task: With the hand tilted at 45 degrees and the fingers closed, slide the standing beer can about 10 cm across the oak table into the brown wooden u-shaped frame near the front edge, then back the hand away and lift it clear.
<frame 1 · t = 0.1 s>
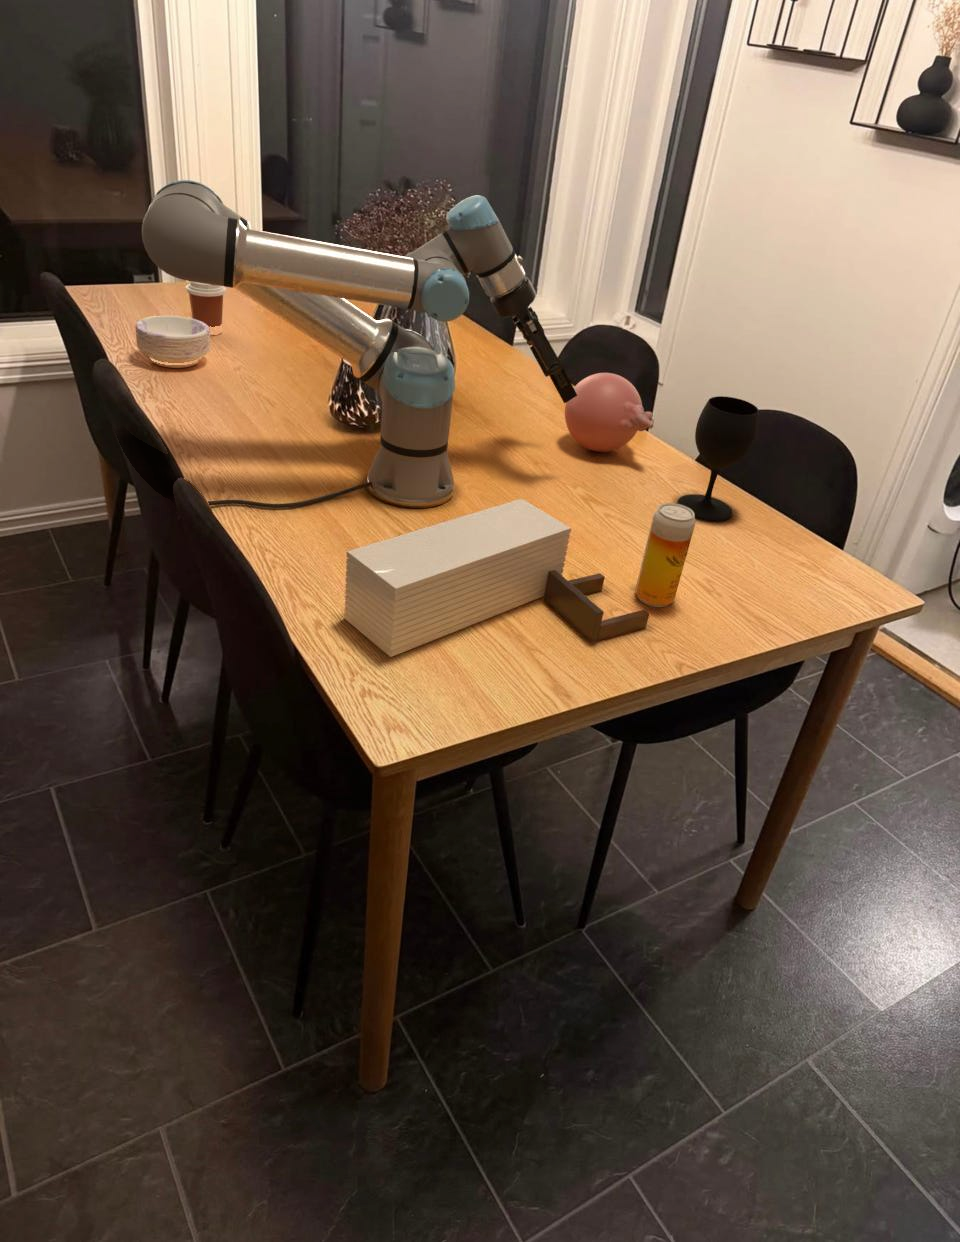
hand: (560, 385, 172), 15 cm above the table, tool tilted 35°, fingers open, 13 cm apart
stack of papers: (456, 604, 134), on the table
paper bowls: (175, 362, 202), on the table
beer can: (653, 599, 142), on the table
wine glass: (704, 509, 170), on the table
balloon: (604, 453, 187), on the table
brown wooden u-shaped frame: (597, 612, 136), on the table
coffee cup: (208, 332, 221), on the table
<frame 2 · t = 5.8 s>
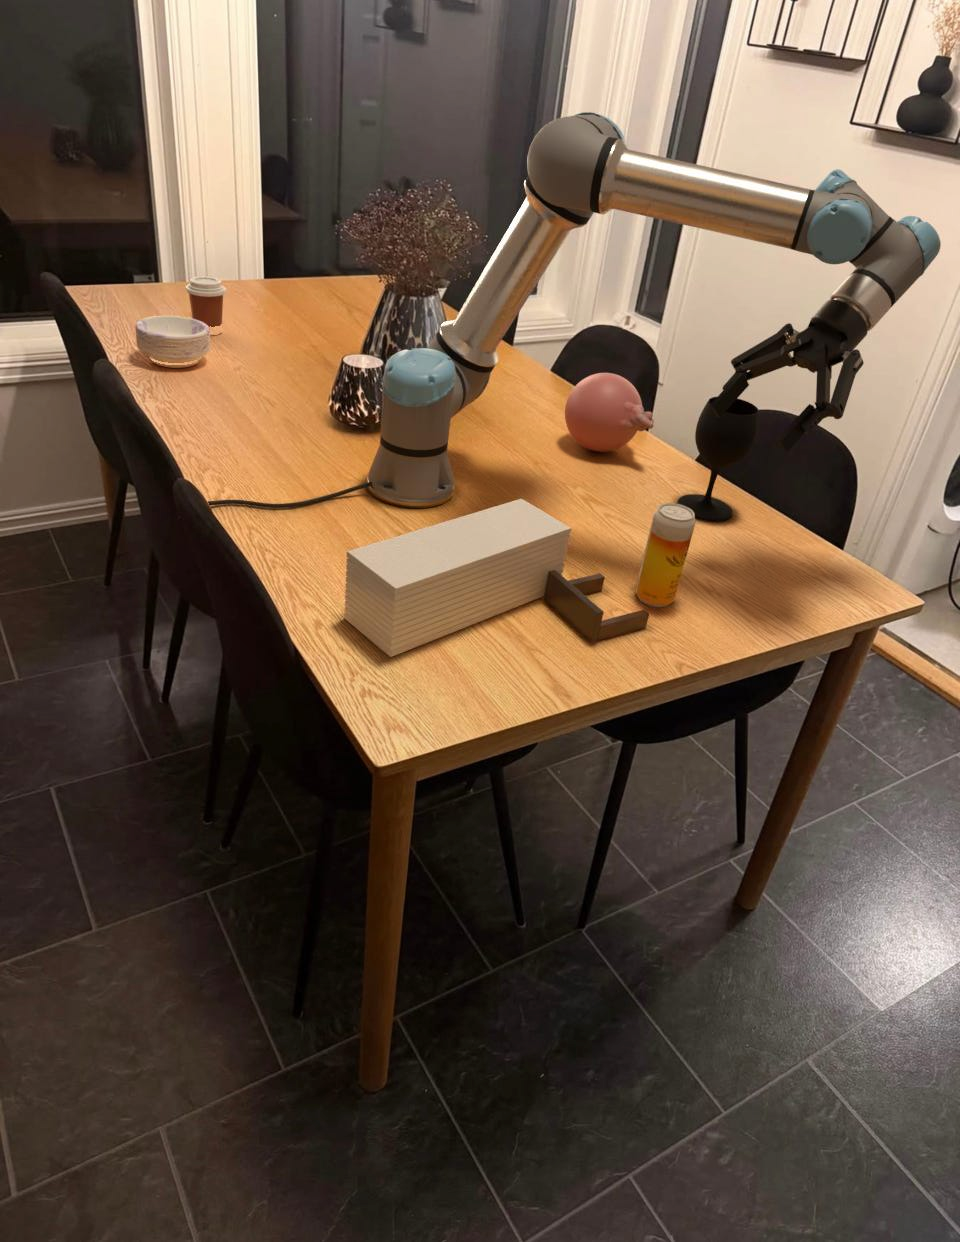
hand: (747, 428, 133), 26 cm above the table, tool tilted 45°, fingers open, 13 cm apart
nothing on the table moved.
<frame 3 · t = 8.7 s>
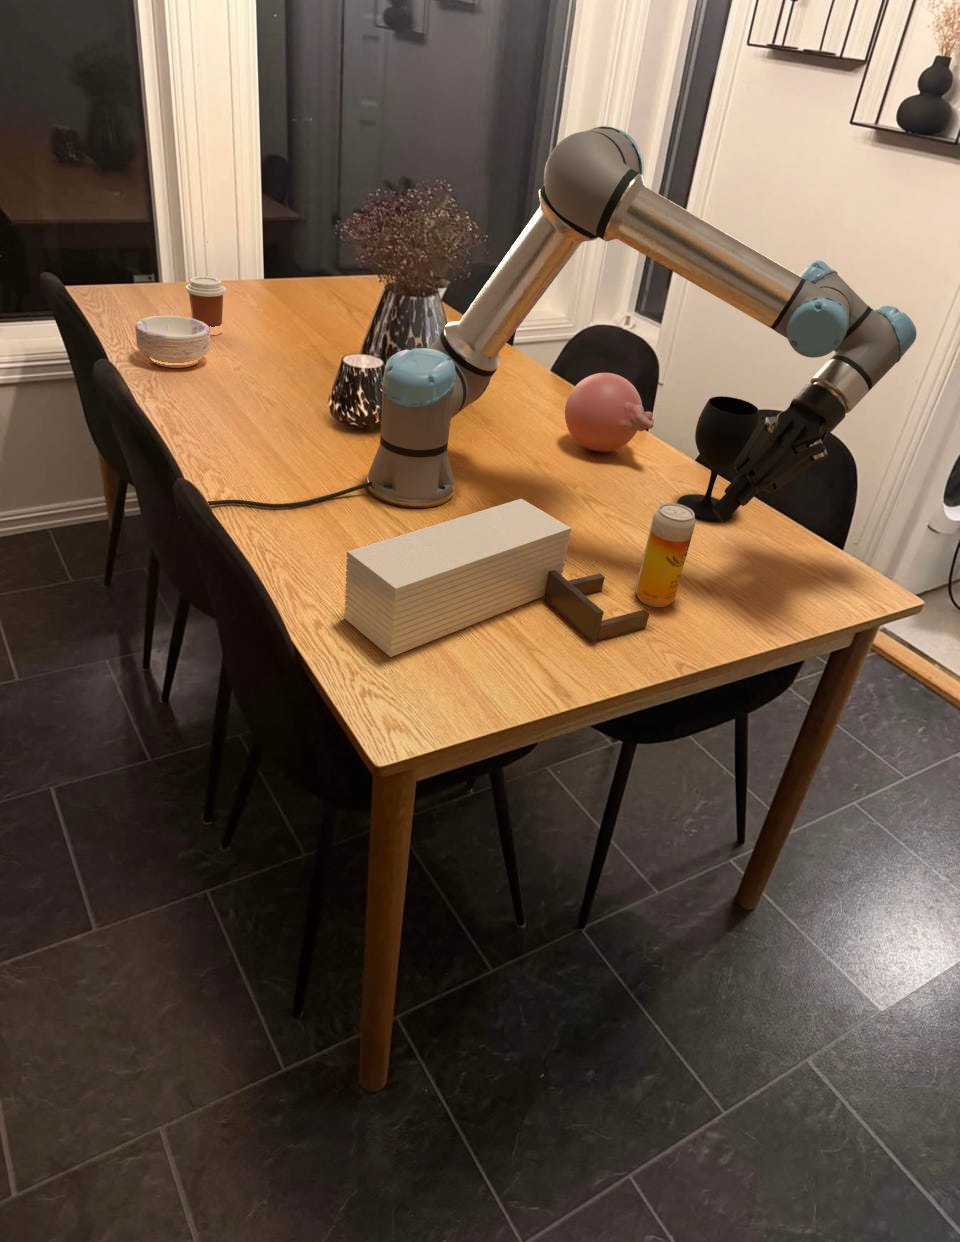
hand: (718, 515, 139), 13 cm above the table, tool tilted 45°, fingers closed
nothing on the table moved.
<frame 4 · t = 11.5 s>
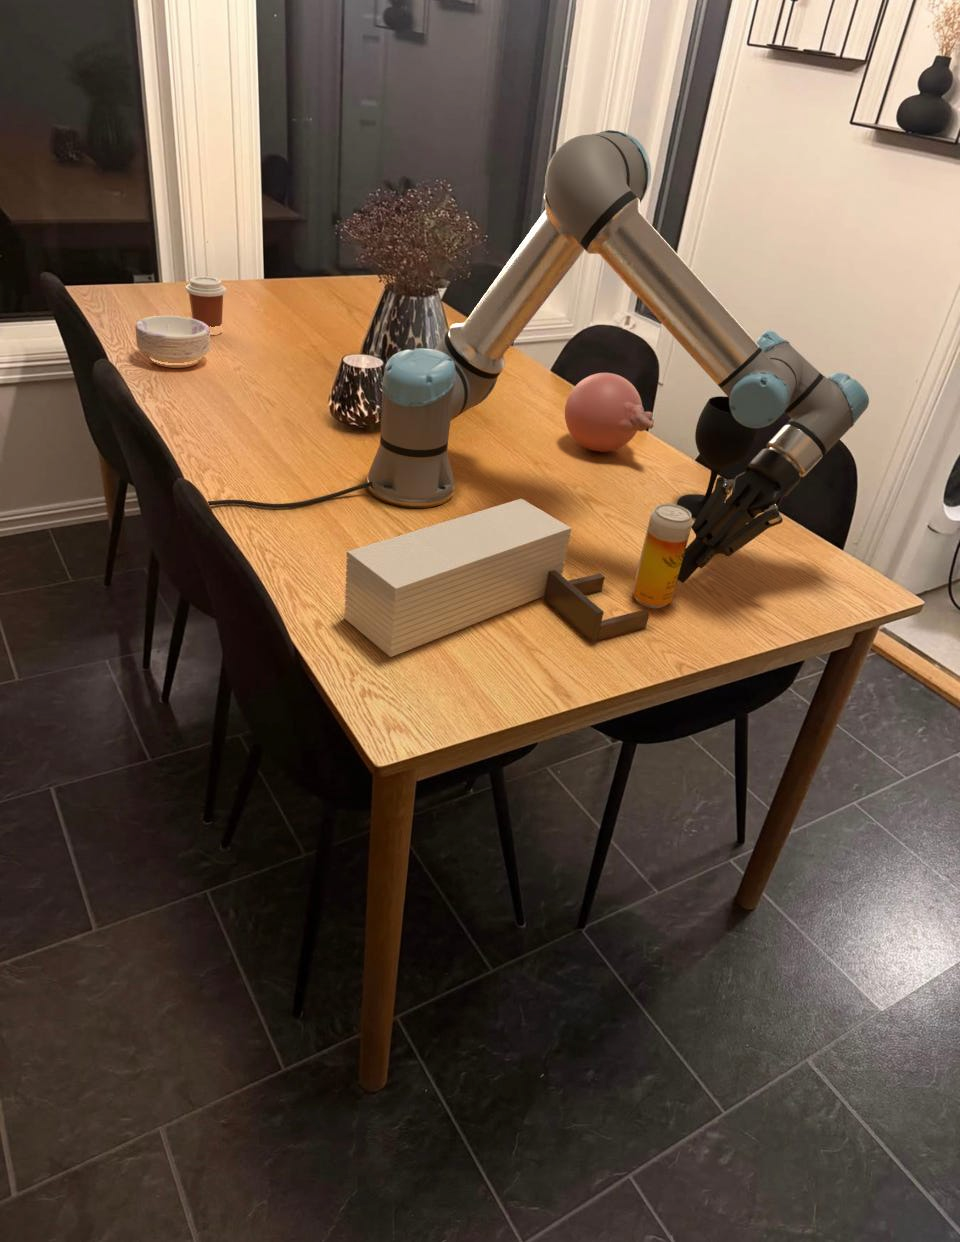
hand: (676, 577, 142), 3 cm above the table, tool tilted 45°, fingers closed
beer can: (650, 600, 141), on the table, touching gripper
everything else where it was.
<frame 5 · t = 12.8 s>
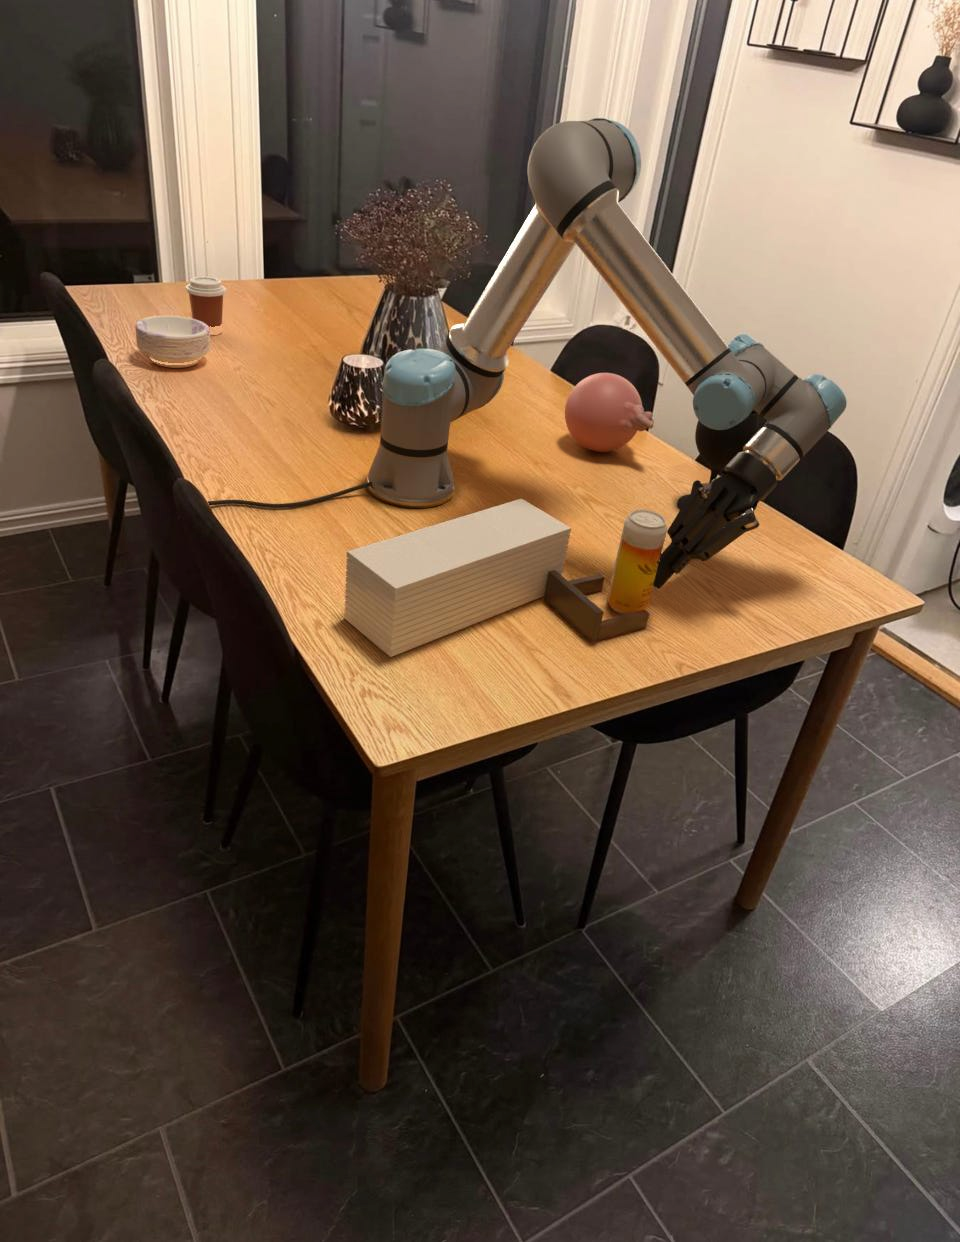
hand: (652, 582, 139), 3 cm above the table, tool tilted 45°, fingers closed
beer can: (626, 607, 139), on the table, touching gripper
everything else where it was.
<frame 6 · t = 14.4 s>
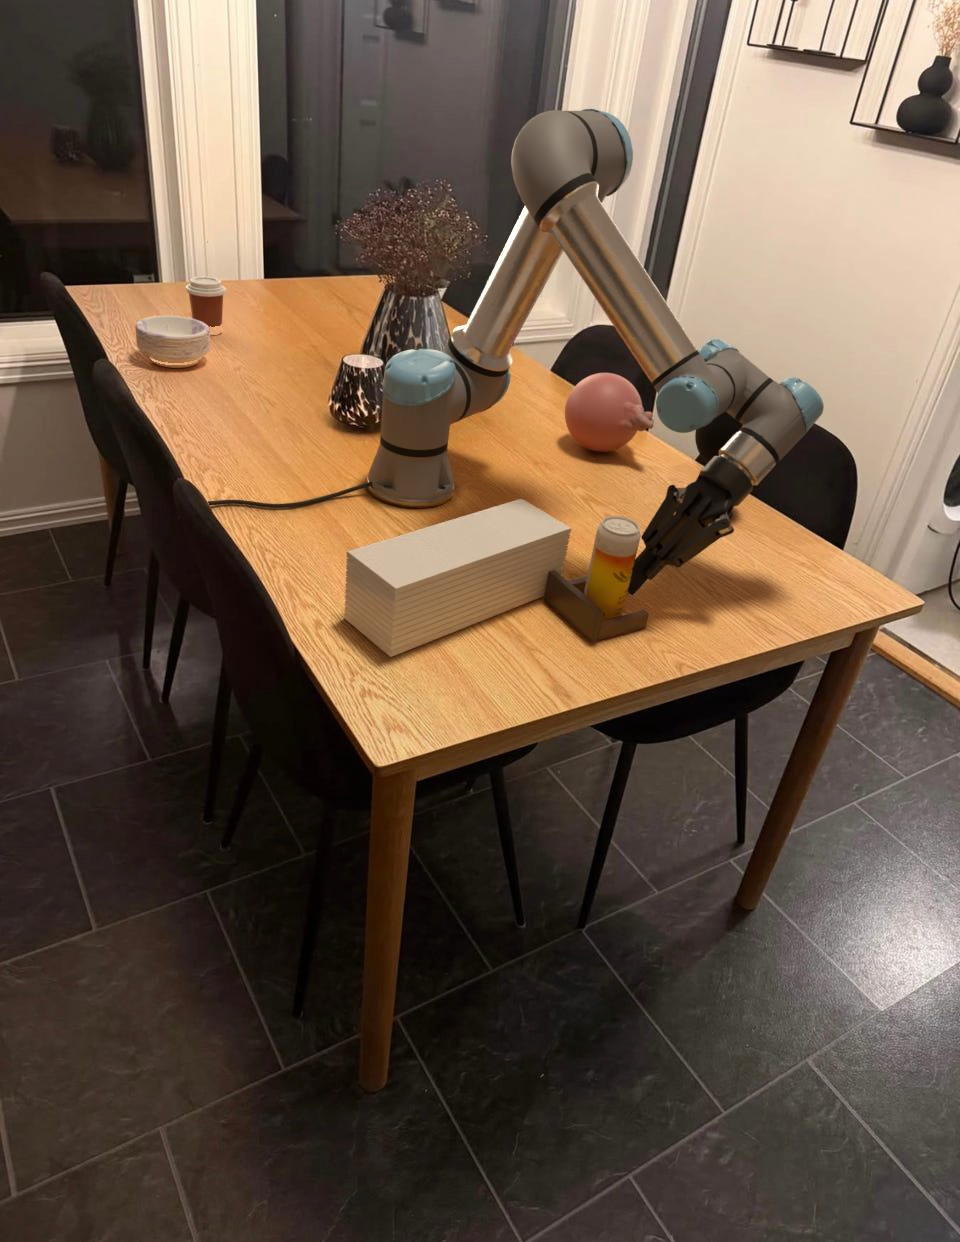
hand: (625, 589, 136), 3 cm above the table, tool tilted 45°, fingers closed
beer can: (600, 615, 136), on the table, touching gripper
everything else where it was.
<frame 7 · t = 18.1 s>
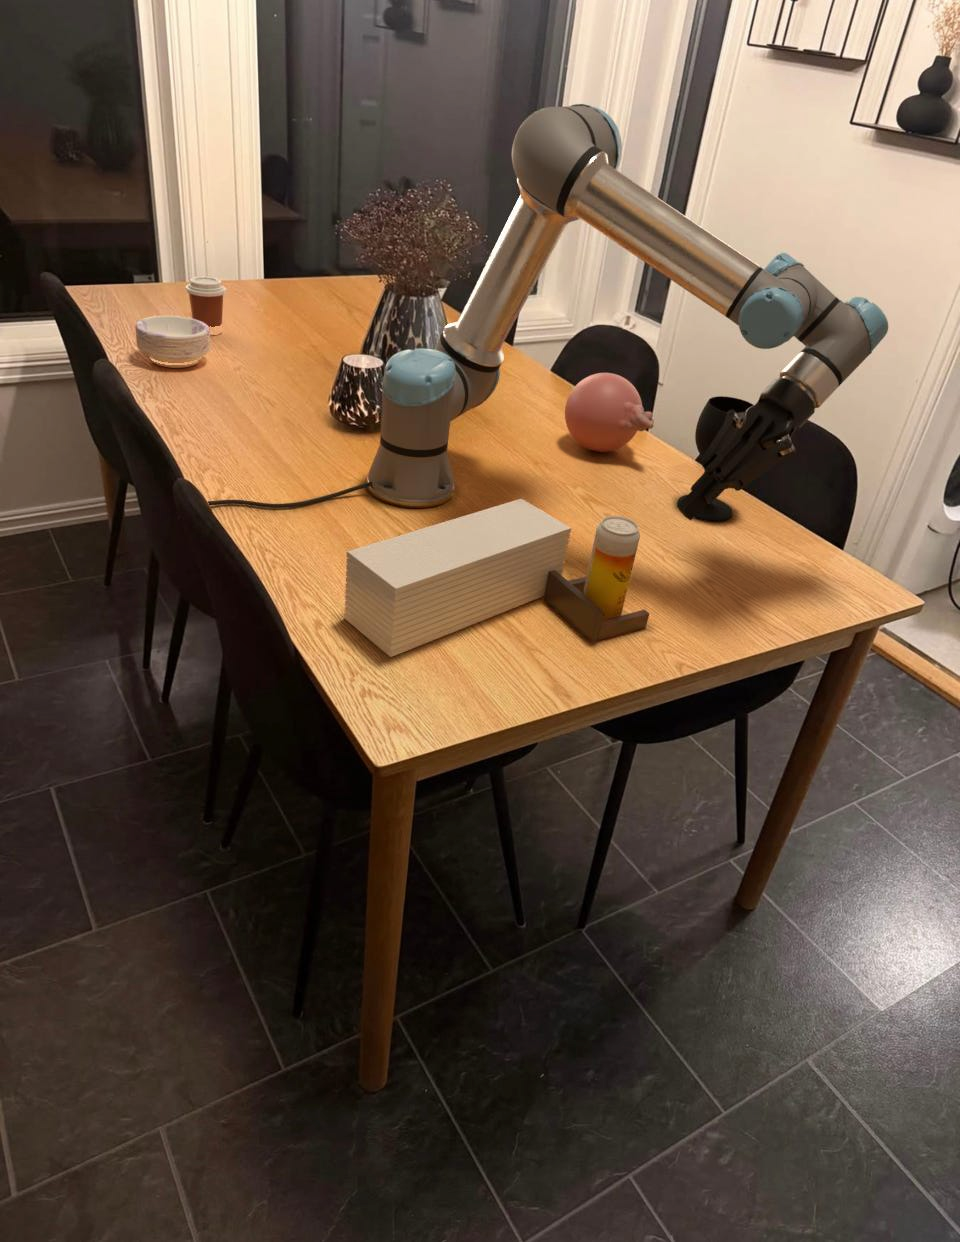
hand: (684, 513, 135), 14 cm above the table, tool tilted 45°, fingers closed
beer can: (599, 615, 136), on the table
everything else where it was.
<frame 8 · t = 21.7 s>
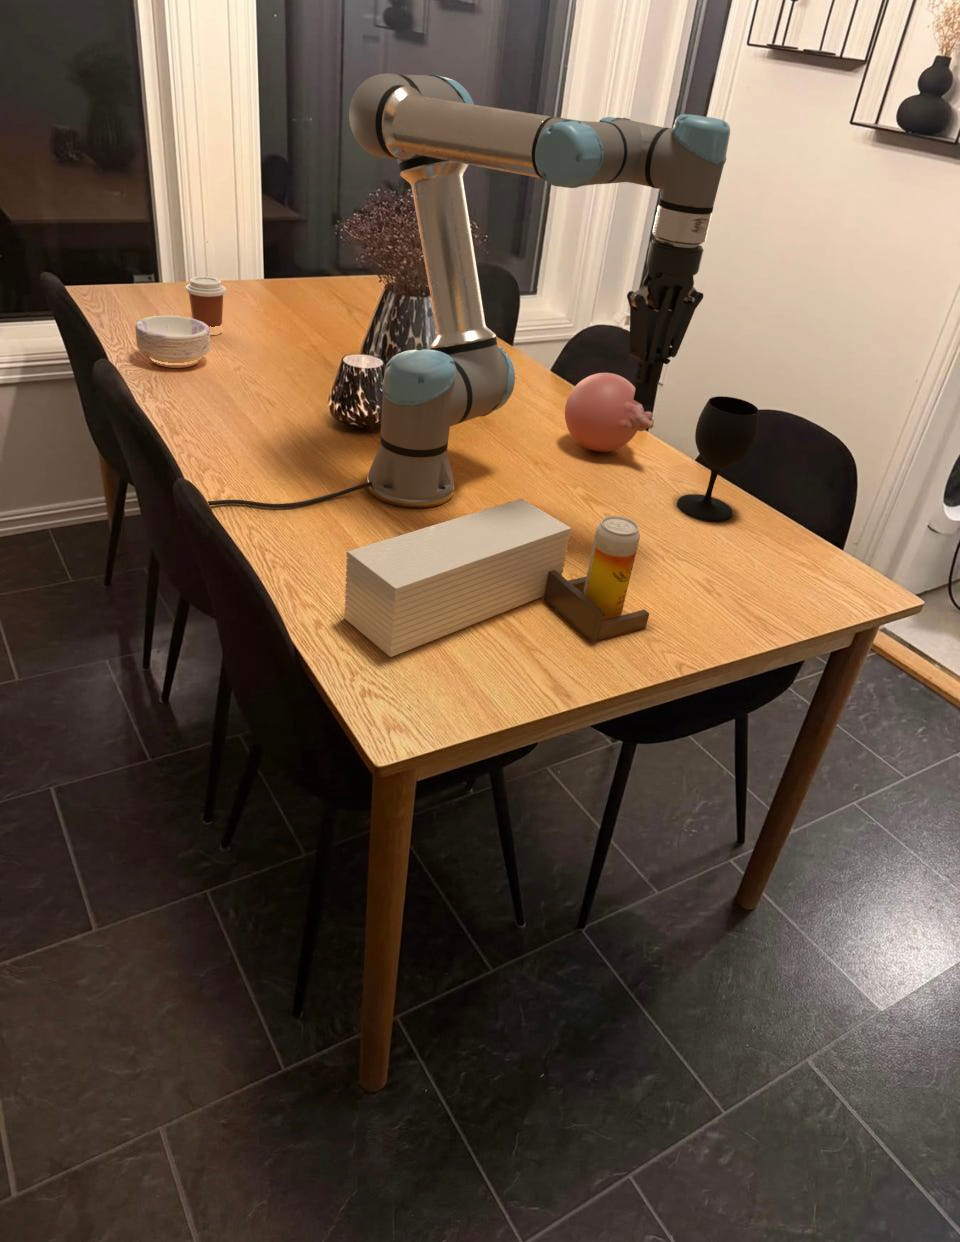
hand: (642, 402, 142), 24 cm above the table, tool pointing down, fingers closed
nothing on the table moved.
at the end: beer can 0.6 cm from the brown wooden u-shaped frame (horizontally); beer can tilted 0°; beer can moved 11.0 cm from its start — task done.
